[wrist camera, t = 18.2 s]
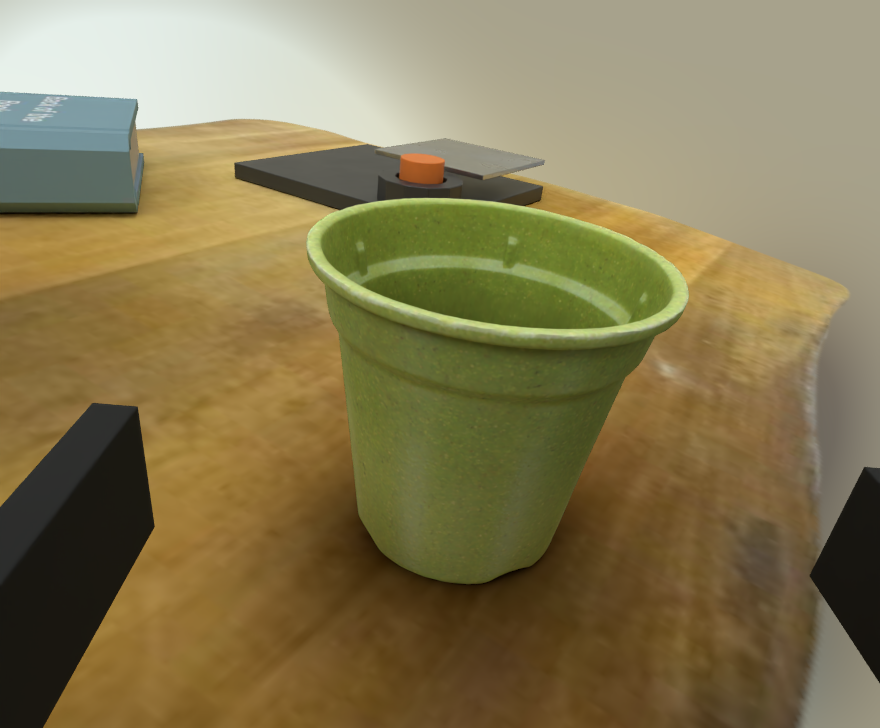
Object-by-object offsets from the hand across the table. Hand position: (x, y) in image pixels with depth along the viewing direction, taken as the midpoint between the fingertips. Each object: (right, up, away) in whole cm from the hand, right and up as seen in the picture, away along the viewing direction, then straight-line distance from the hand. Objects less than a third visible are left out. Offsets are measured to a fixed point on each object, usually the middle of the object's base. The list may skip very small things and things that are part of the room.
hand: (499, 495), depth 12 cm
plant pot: (-1, -2, +8) cm, 9 cm away
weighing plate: (+1, +20, +43) cm, 47 cm away
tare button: (-2, +16, +36) cm, 39 cm away
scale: (-5, +17, +44) cm, 48 cm away
